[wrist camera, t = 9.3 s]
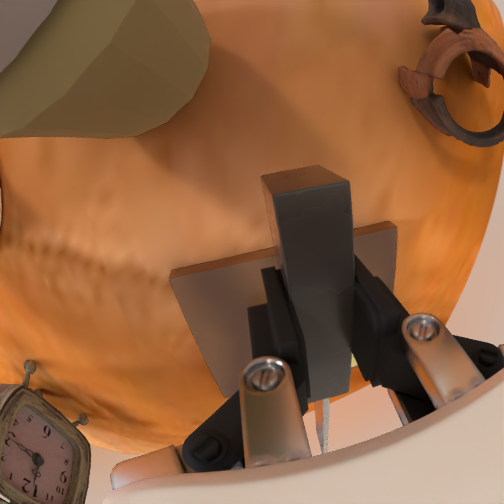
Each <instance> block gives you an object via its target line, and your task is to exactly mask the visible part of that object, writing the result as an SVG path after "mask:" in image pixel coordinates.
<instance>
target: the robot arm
mask: <svg viewBox="0 0 504 504" xmlns="http://www.w3.org/2000/svg"><path fill="white" fill-rule="evenodd" d="M1 210H2V204H1V189H0V225H1ZM354 271H355V286H354V299H353V332H352V350H351V352H352V354H353V356H354V358H355V360H356V363H357V365H358V367H359V369H360V371H361V373H362V376H363V378H364V380H365V381H369V380H370V382H371V384H372V386H373V387H375V386H378V385H382V387H385V388H387V390H388V394H389V396H390V398H391V400H392V402H393V405H394V407H395V409H396V411H397V413H398V415H399V417H400V420H401V422H402V424H403V427H400V428H398V429H396V430H393V431H391V432H389V433H386V434H383V435H381V436H378V437H375V438H373V439H370V440H367V441H364V442H361V443H358V444H355V445H352V446H349V447H346V448H343V449H339V450H336V451H332V452H329V453H325V454H321V455H317V456H313V457H312V455H311V451H310V447H309V443H308V439H307V434H306V430H305V426H304V422H303V418H302V417H303V416H304V414H305V413H306V412H307V410H308V402H307V398H311V393H310V382H309V372H308V362H307V352H306V344H305V339H304V335H303V332H302V329H301V326H300V323H299V320H298V317H297V314H296V311H295V308H294V305H293V302H291V301H290V299H289V296H288V293H287V290H286V287H285V284H284V281H283V278H282V275H281V272H280V269H277V270H276V269H275V266H272V267H268V268H263V269H261V274H262V279H263V284H264V288H265V293H266V298H267V303H265V304H260V305H256V306H251V307H247V312H248V322H249V331H250V340H251V349H252V358H253V360H252V361H250V362H248V363H247V364H246V365H245V366H244V367H243V368H242V370H241V372H240V374H239V390H238V391H237V392H236V393H235V394H234V395H233V396H232V397H231V398H229V399H228V400H227V401H226V402H225V403H224V404H223V405H222V406H221V407H220V408H219V409H218V410H217V411H216V412H215V413H214V414H213V415H212V416H210V417H209V418H208V419H207V420H206V421H205V422H204V423H203V424H202V425H201V426H199V427H198V428H197V429H196V430H195V431H194V432H193V433H192V434H190V435H189V437H188V438H187V439H186V440H185V442H184V444H182V445H179V446H177V447H175V446H174V445H171V446H168V447H166V448H163V449H160V450H157V451H154V452H151V453H148V454H145V455H142V456H138V457H135V458H132V459H128V460H125V461H122V462H120V463H118V464H116V466H115V467H114V468H113V469H112V472H111V474H110V478H111V485H112V489H113V491H112V492H110V493H109V494H108V495H107V496H106V497H105V499H104V500H103V502H102V504H504V344H502V345H499V346H498V348H497V347H496V346H495V345H493V344H490V343H486V342H482V341H477V340H473V339H468V338H464V337H459V336H455V335H452V334H451V333H450V332H449V330H448V329H447V328H446V327H445V325H444V324H443V323H442V322H441V321H440V320H439V319H438V318H437V317H435V316H433V315H431V314H427V313H416V314H412V315H409V313H408V312H407V311H406V309H405V308H404V307H403V306H402V304H401V303H400V302H399V301H398V299H397V298H396V297H395V296H394V295H393V293H392V292H391V291H390V290H389V288H388V287H387V286H386V285H385V284H384V282H383V281H382V280H381V279H380V278H379V277H378V276H375V277H374V276H373V275H372V274H371V272H370V271H369V270H368V269H367V268H366V267H365V265H364V264H363V263H362V262H361V261H360V259H359V258H358V257H357V256H356V255H355V254H354Z"/></svg>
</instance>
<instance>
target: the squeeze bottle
mask: <svg viewBox="0 0 504 504" xmlns="http://www.w3.org/2000/svg"><path fill="white" fill-rule="evenodd" d="M210 42H211V38H210V36H209V33H208V31H207V28H206V26H205V23H204V21H203V19H202V16H201V14H200V12H199V10H198V8H197V7H196V5H195V3H194V1H193V0H0V138H16V137H81V138H101V139H110V138H122V137H135V136H138V135H140V134H143V133H145V132H147V131H149V130H151V129H153V128H155V127H157V126H160V125H162V124H164V123H166V122H168V121H169V120H170V119H171V118H172V117H173V116H174V115H175V114H176V113H177V112H178V111H179V110H180V109H181V108H182V107H183V106H185V105H186V104H187V103H188V102H189V101H190V100H191V99H192V98H193V96H194V94H195V92H196V90H197V88H198V86H199V84H200V83H201V81H202V79H203V77H204V75H205V73H206V72H207V70H208V62H209V52H210Z"/></svg>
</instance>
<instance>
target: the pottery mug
mask: <svg viewBox="0 0 504 504" xmlns="http://www.w3.org/2000/svg"><path fill="white" fill-rule="evenodd" d="M428 3H429V8H428V12H427V14H426V15H425V17H424V18H423V19H422V23H423V24H424V25H446V26H443V27H441V31H442V32H441V33H440V34H439V35H438V36H437V37H436V38H434V39H433V40H432V42H431V43H430V45H429V46H428V48H427V49H426V50H425V51H424V53H423V54H422V56H421V58H420V60H419V63H418V66H417V71H413V70H409V69H407V68H406V67H404V66H399V67H398V78H399V83H400V86H401V87H402V88H403V89H404V92H405V93H407V94H409V95H410V96H411V97H410V99H411V102H412V104H413V105H414V106H415V107H416V108H417V109H418V111H419V112H420V113H421V114H422V115H423V116H424V117H425V118H426V119H427V120H428V121H429V122H430V123H431V124H432V125H433V126H434V127H435V128H436V129H438V130H439V131H441V132H442V133H444V134H445V135H447V136H454V137H455V138H456V139H457V140H461V141H463V142H464V143H466V144H468V145H471V146H476V147H489V146H493V145H496V144H499V143H500V142H502V141H503V140H504V112H503V116H502V119H501V121H500V122H499V123H498V125H496V126H495V127H494V128H492V129H490V130H488V131H485V132H471V131H467V130H465V129H463V128H462V127H460V126H459V125H458V124H457V123H456V122H455V121H454V120H453V119H452V117H451V116H450V114H449V112H448V110H447V108H446V105H445V102H444V98H443V96H441V95H436V94H434V93H433V79H434V78H437V79H443V78H444V76H445V73H446V71H447V69H448V67H449V65H450V64H451V62H452V61H453V60H454V59H455V58H456V57H458V56H459V55H461V54H463V53H465V52H467V53H468V55H469V57H470V60H471V64H472V71H473V80H474V81H476V82H478V83H480V84H483V85H484V86H485V87H486V88H489V87H490V74H491V68H492V69H494V70H495V71H497V72H498V73H499V74H501V75H502V76H503V79H504V53H503V52H502V50H501V49H500V47H499V46H498V45H497V43H496V42H495V41H494V40H493V39H492V38H491V37H490V36H489V35H488V34H487V33H486V32H485V31H484V30H483V29H482V28H481V27H480V24H479V22H478V19H477V15H476V11H475V7H474V5H473V3H472V2H471V0H428Z"/></svg>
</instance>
